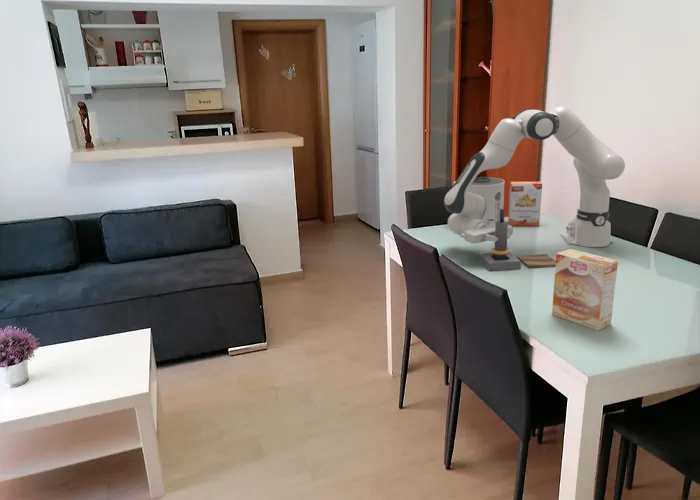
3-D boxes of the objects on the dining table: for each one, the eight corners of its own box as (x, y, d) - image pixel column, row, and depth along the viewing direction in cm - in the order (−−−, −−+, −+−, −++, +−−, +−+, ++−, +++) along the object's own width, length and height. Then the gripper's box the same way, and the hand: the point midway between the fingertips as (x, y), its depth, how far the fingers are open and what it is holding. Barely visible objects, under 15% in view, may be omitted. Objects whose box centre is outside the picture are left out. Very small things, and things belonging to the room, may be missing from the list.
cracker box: (509, 226, 255) (511, 183, 248) (507, 223, 260) (509, 181, 254) (539, 226, 252) (542, 183, 246) (537, 223, 258) (540, 180, 252)
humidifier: (465, 233, 247) (466, 184, 240) (451, 222, 266) (452, 176, 260) (509, 229, 249) (512, 180, 242) (492, 219, 269) (494, 173, 262)
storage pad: (516, 258, 210) (517, 256, 209) (546, 256, 210) (546, 254, 210) (528, 268, 198) (528, 265, 198) (559, 266, 199) (560, 263, 198)
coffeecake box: (550, 314, 159) (555, 252, 153) (565, 308, 163) (570, 247, 157) (597, 331, 147) (604, 265, 141) (611, 324, 151) (619, 259, 145)
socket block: (479, 260, 209) (479, 253, 208) (509, 258, 209) (509, 251, 208) (489, 270, 197) (489, 263, 196) (520, 268, 198) (521, 261, 197)
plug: (489, 257, 206) (491, 207, 200) (505, 256, 206) (507, 206, 200) (494, 263, 200) (496, 211, 194) (511, 262, 200) (513, 210, 194)
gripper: (457, 226, 206) (481, 234, 194) (497, 218, 215) (523, 225, 203) (457, 242, 208) (481, 251, 196) (497, 233, 216) (522, 241, 205)
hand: (502, 237), depth 199 cm, fingers closed on plug, 4 cm apart
